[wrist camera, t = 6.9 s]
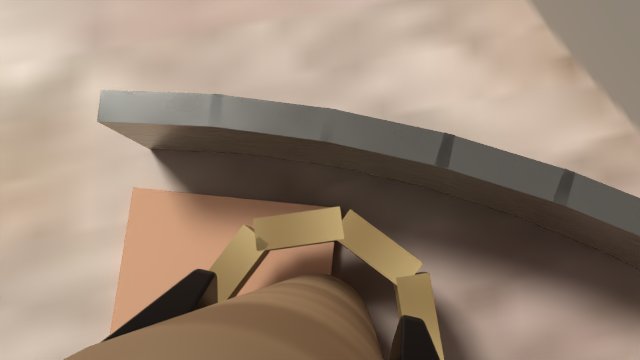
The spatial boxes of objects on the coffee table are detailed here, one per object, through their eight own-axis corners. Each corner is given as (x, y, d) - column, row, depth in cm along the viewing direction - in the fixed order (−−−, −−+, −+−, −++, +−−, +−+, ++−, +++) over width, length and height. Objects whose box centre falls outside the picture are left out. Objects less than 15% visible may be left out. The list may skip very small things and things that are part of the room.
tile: (315, 427, 17) (315, 431, 17) (104, 399, 18) (99, 402, 18) (337, 208, 18) (337, 207, 18) (137, 189, 19) (133, 187, 19)
